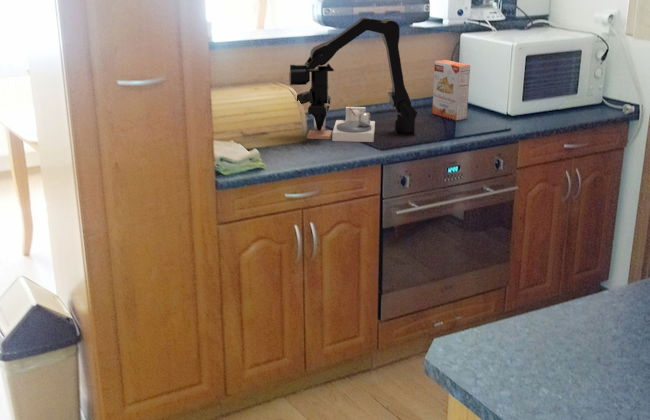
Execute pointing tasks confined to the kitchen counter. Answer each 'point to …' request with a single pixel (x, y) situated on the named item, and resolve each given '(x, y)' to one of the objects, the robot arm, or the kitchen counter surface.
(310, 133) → the rubber mat
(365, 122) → the cylinder
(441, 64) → the cracker box
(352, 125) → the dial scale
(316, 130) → the cylinder
